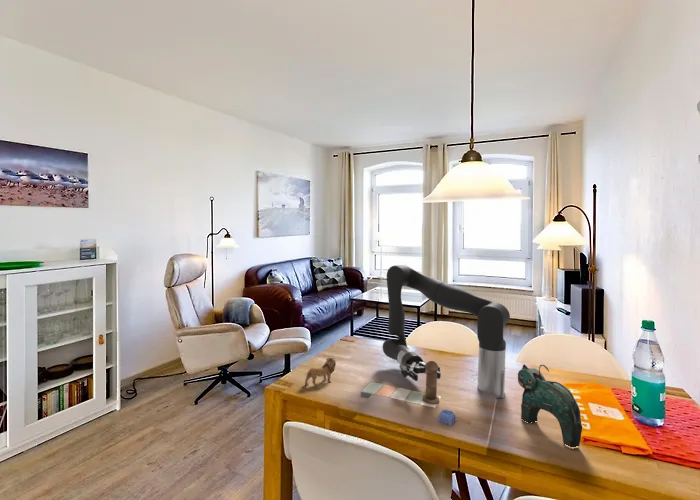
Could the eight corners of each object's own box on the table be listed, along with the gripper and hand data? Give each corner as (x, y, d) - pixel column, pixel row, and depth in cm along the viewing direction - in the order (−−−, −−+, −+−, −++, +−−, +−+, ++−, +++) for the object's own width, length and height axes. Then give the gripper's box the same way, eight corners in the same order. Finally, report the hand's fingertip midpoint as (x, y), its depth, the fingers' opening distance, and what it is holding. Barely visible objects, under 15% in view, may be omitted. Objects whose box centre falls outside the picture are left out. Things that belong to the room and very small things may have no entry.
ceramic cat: (514, 417, 119) (516, 357, 118) (529, 414, 122) (532, 354, 120) (569, 453, 101) (573, 381, 100) (586, 448, 103) (590, 378, 102)
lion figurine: (330, 376, 151) (330, 354, 150) (338, 380, 147) (339, 358, 146) (300, 385, 141) (300, 363, 141) (308, 390, 137) (308, 367, 137)
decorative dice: (443, 420, 117) (444, 408, 117) (455, 424, 115) (456, 412, 115) (438, 425, 114) (438, 413, 114) (450, 430, 112) (450, 417, 111)
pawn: (440, 398, 129) (441, 360, 128) (437, 405, 124) (438, 365, 123) (425, 395, 131) (425, 357, 130) (420, 401, 126) (421, 362, 125)
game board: (441, 399, 131) (441, 396, 131) (435, 412, 122) (435, 408, 122) (371, 384, 143) (371, 381, 143) (360, 395, 134) (360, 391, 134)
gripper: (393, 352, 143) (409, 368, 128) (426, 350, 147) (446, 365, 131) (392, 371, 144) (409, 389, 128) (426, 368, 147) (446, 385, 132)
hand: (428, 377), depth 130 cm, fingers open, 8 cm apart
